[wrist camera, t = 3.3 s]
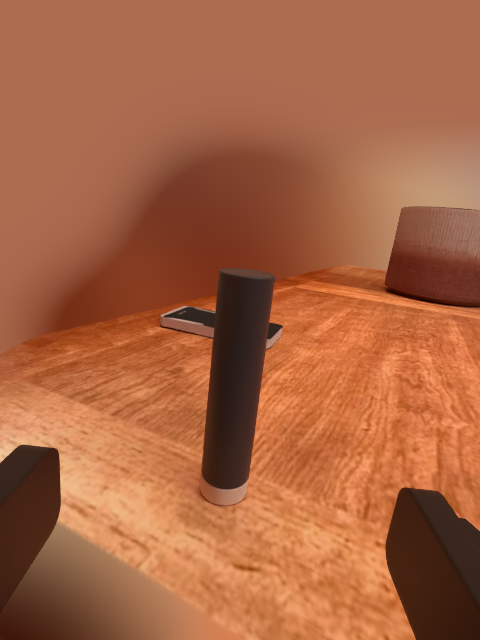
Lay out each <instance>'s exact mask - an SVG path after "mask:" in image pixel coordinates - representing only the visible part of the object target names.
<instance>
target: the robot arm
mask: <svg viewBox="0 0 480 640" xmlns="http://www.w3.org/2000/svg"><path fill="white" fill-rule="evenodd" d="M60 506H61V494H60V463H59V453H58V450H57V449H55V448H49V447H39V446H30V445H20V446H18V447H17V448H16V449H15V450H14V451H13V452H12V453H11V454H9V455H8V456H7V457H6V458H5V459H4V460H3V461H2V462H1V463H0V612H1V611H2V609H3V608H4V606H5V604H6V603H7V601H8V600H9V598H10V597H11V595H12V594H13V592H14V591H15V589H16V587H17V586H18V584H19V583H20V581H21V580H22V578H23V577H24V575H25V573H26V572H27V570H28V569H29V567H30V565H31V564H32V562H33V561H34V559H35V558H36V556H37V555H38V553H39V552H40V550H41V549H42V547H43V545H44V544H45V542H46V541H47V539H48V538H49V536H50V534H51V533H52V531H53V529H54V527H55V525H56V522H57V519H58V516H59V512H60ZM386 559H387V565H388V569H389V572H390V575H391V577H392V580H393V582H394V585H395V587H396V590H397V592H398V595H399V597H400V600H401V602H402V605H403V607H404V610H405V613H406V615H407V618H408V620H409V623H410V625H411V628H412V630H413V633H414V635H415V638H416V640H480V531H479V530H478V529H476V528H475V527H474V526H473V525H472V524H471V523H469V522H468V521H467V520H466V519H463V518H458V516H457V515H456V514H455V512H454V511H453V509H452V508H451V506H450V505H449V504H448V502H447V501H446V499H445V498H444V496H443V495H442V494H441V493H440V492H438V491H432V490H423V489H414V488H402V489H401V490H400V492H399V494H398V497H397V501H396V505H395V509H394V513H393V516H392V520H391V524H390V528H389V532H388V535H387V540H386Z"/></svg>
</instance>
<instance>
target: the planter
mask: <svg viewBox="0 0 480 640" xmlns="http://www.w3.org/2000/svg"><path fill="white" fill-rule="evenodd" d="M385 285H386V286H387V287H388V288H389V289H390V290H391V291H393V292H395V293H398V294H400V295H404V296H407V297H411V298H415V299H420V300H425V301H430V302H436V303H442V304H449V305H459V306H477V305H480V210H472V209H460V208H445V207H404V208H402V209H401V213H400V217H399V222H398V227H397V231H396V235H395V240H394V244H393V248H392V253H391V257H390V261H389V265H388V270H387V274H386V279H385Z"/></svg>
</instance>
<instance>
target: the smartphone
mask: <svg viewBox="0 0 480 640" xmlns="http://www.w3.org/2000/svg"><path fill="white" fill-rule="evenodd" d="M215 314H216V312H215V311H210V310H205V309H200V308H195V307H190V306H184V307H181V308H178V309H175V310H173V311H170V312H167V313H165V314H162V315H161V318H160V325H161V326H164V327H168V328H173V329H177V330H182V331H186V332H190V333H195V334H199V335H204V336H208V337H212V338H213V336H214V325H215ZM282 328H283V326H282V325H279V324H274V323H269V327H268V335H267V342H266V349H269V348H270V347H271V346H272V345H273V344H274V343H275V342H276V341H277V340H278V339H279V337H280V336H281V334H282Z"/></svg>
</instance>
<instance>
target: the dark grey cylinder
mask: <svg viewBox="0 0 480 640" xmlns="http://www.w3.org/2000/svg"><path fill="white" fill-rule="evenodd" d="M274 281H275V276H274V275H272V274H270V273H266V272H262V271H257V270H249V269H238V268H226V269H221V270H220V271H219V281H218V292H217V303H216V314H215V325H214V336H213V347H212V358H211V370H210V381H209V392H208V403H207V414H206V425H205V436H204V447H203V458H202V469H201V481H200V490H201V493H202V495H203V496H204V497H205V498H206V499H207V500H208V501H210V502H212V503H214V504H217V505H224V506H227V505H233V504H236V503H238V502H240V501H241V500H242V499H243V498H244V497H245V495H246V493H247V487H248V479H249V471H250V464H251V456H252V449H253V441H254V433H255V426H256V418H257V411H258V403H259V395H260V388H261V380H262V373H263V365H264V357H265V350H266V342H267V335H268V327H269V319H270V312H271V304H272V297H273V289H274Z"/></svg>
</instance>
